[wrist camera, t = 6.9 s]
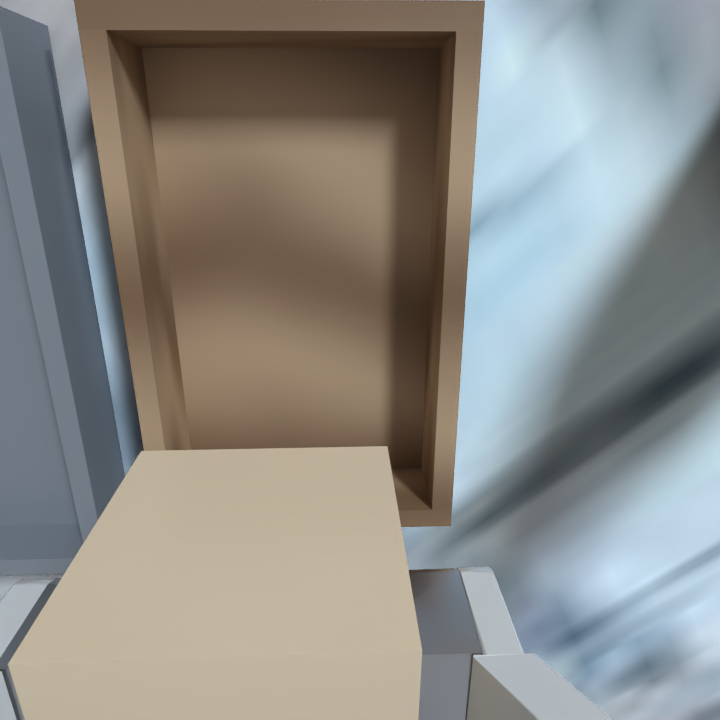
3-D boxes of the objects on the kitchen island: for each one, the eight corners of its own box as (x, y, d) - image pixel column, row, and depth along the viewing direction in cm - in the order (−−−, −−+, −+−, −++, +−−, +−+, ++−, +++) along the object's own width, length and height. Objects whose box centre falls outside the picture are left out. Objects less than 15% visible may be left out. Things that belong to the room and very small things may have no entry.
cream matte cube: (387, 446, 9) (421, 650, 6) (383, 630, 11) (409, 889, 7) (140, 451, 9) (7, 665, 5) (170, 637, 11) (81, 905, 7)
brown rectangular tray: (435, 473, 20) (450, 525, 17) (182, 478, 20) (156, 532, 17) (458, 27, 15) (484, 1, 13) (123, 26, 15) (73, -2, 12)
